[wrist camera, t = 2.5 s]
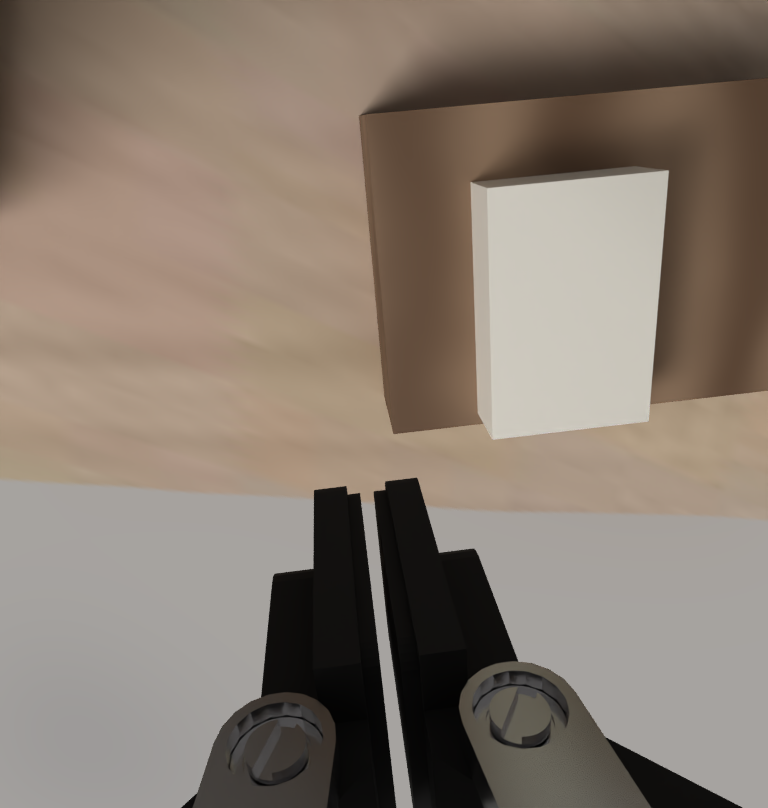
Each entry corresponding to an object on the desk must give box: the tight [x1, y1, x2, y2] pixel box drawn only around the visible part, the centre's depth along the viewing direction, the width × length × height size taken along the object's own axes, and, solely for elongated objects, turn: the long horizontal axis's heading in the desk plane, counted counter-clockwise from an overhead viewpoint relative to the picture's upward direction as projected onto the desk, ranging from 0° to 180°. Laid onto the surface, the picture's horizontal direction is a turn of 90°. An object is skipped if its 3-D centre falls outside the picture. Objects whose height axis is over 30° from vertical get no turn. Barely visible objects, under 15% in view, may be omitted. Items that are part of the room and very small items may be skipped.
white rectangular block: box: [471, 166, 669, 440], centre depth 24 cm, size 6×9×2 cm, turn 5°
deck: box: [359, 78, 768, 434], centre depth 27 cm, size 16×12×4 cm
